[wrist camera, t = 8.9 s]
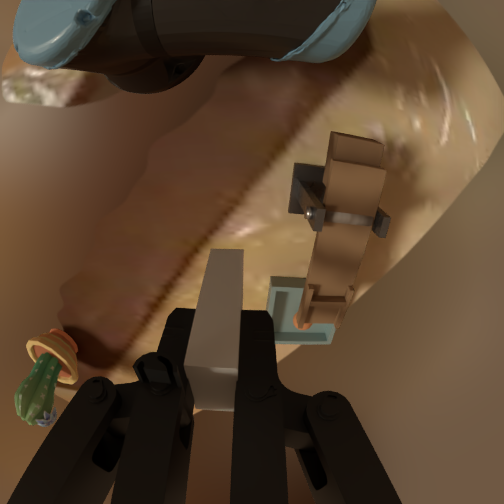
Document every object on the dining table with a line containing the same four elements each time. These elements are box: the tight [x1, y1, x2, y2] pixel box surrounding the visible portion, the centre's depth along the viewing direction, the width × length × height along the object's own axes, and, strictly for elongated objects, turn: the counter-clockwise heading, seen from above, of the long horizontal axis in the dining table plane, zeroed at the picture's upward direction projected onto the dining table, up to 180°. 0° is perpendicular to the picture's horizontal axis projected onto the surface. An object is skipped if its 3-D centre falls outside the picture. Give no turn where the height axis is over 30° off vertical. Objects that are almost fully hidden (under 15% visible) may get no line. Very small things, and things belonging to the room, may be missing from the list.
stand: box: [288, 163, 391, 238], centre depth 32 cm, size 7×10×12 cm
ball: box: [293, 312, 313, 330], centre depth 46 cm, size 4×4×4 cm
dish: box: [266, 276, 336, 344], centre depth 46 cm, size 13×13×3 cm
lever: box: [296, 131, 387, 329], centre depth 31 cm, size 24×6×5 cm, turn 175°
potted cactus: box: [15, 329, 78, 427], centre depth 43 cm, size 15×15×25 cm
